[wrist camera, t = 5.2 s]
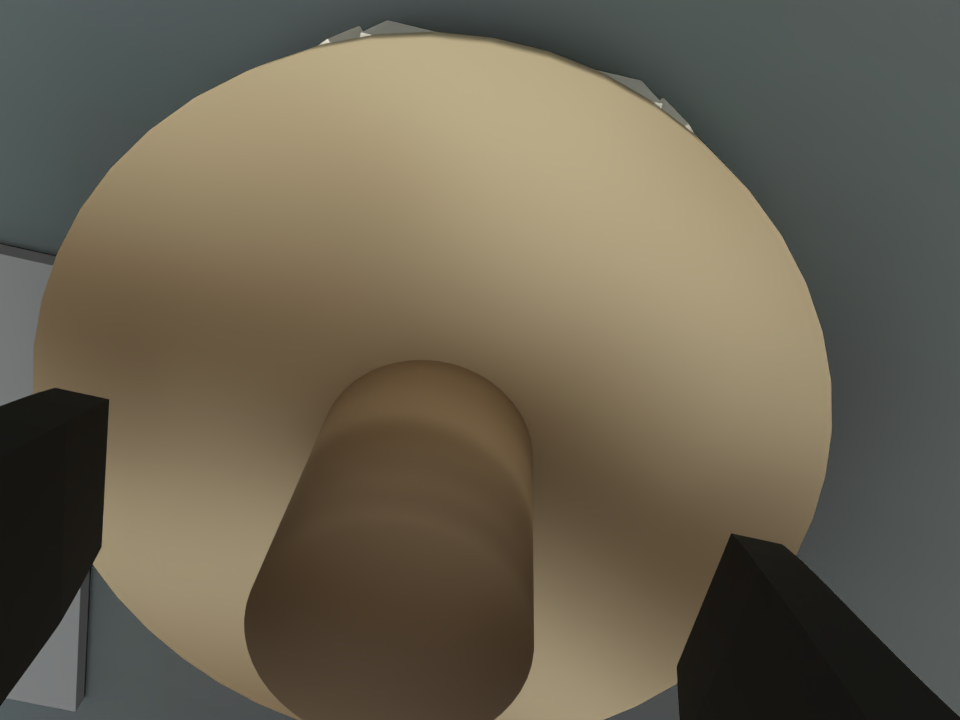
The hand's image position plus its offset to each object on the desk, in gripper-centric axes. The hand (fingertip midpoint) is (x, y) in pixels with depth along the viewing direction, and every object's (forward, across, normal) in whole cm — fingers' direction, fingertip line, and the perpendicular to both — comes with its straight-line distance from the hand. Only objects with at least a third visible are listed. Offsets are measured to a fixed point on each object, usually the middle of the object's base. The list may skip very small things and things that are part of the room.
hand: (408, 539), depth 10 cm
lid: (+3, 0, 0) cm, 3 cm away
